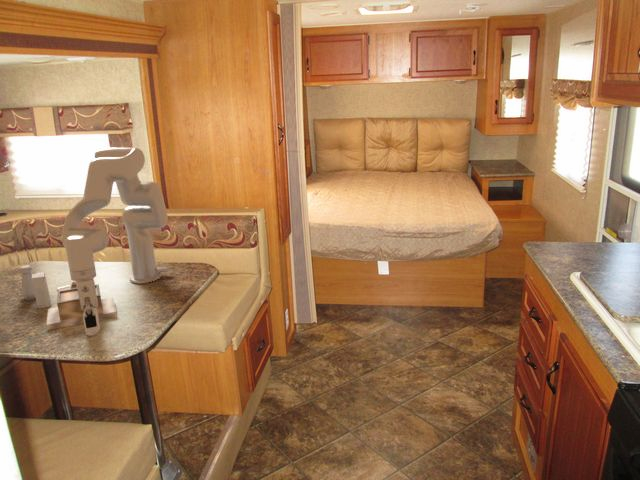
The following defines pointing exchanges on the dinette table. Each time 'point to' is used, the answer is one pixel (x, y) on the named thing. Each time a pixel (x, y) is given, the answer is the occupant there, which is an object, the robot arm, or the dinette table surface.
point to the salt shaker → (27, 283)
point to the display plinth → (79, 320)
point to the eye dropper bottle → (94, 329)
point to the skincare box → (41, 290)
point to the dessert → (69, 286)
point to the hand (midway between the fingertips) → (91, 321)
